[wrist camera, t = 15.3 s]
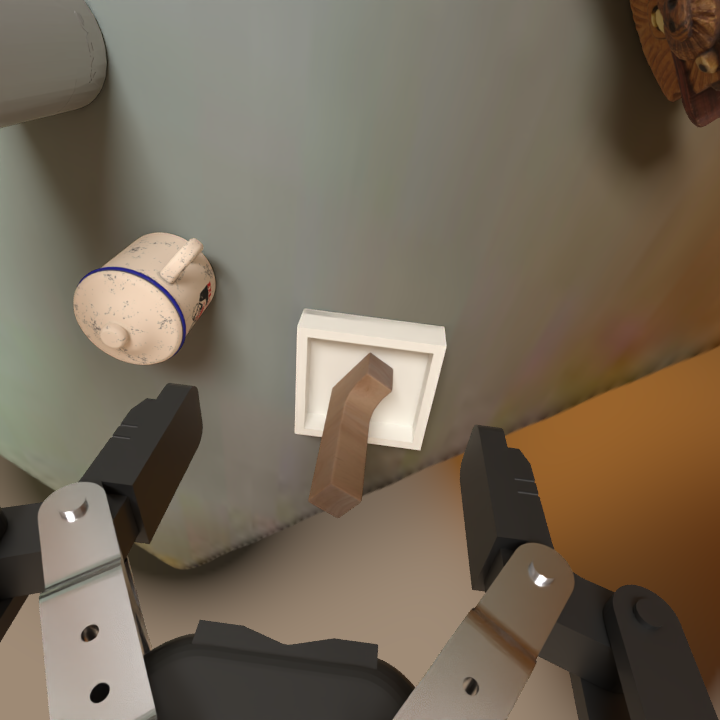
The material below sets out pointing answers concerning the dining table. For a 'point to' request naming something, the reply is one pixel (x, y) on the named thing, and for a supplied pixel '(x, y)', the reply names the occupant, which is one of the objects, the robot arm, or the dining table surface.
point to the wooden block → (348, 436)
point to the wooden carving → (683, 52)
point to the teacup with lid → (146, 298)
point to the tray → (346, 349)
